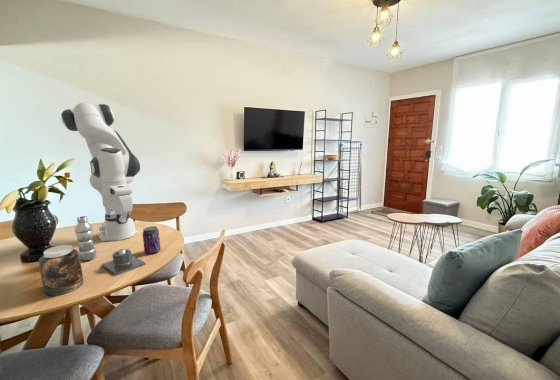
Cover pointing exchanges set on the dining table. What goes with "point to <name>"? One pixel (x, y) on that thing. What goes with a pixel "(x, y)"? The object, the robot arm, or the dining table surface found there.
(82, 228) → the plastic bottle
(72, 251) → the jar
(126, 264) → the post stand
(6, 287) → the dining table surface
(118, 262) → the octagonal nut
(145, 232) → the beverage can
